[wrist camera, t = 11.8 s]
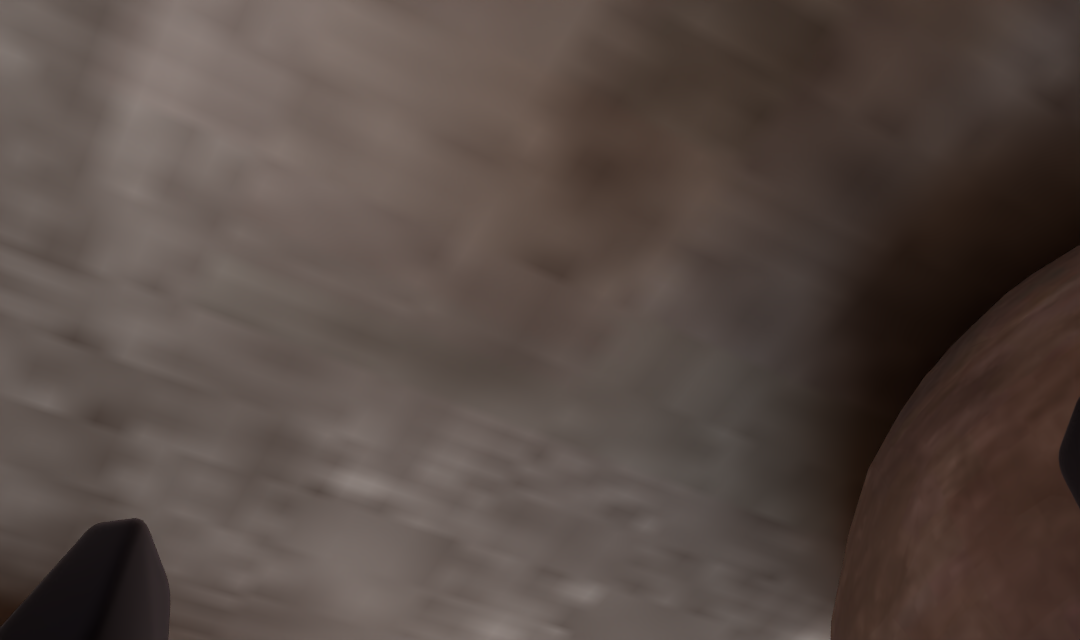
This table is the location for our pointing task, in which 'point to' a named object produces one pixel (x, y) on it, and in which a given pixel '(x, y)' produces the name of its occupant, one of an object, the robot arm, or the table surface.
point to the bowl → (977, 486)
